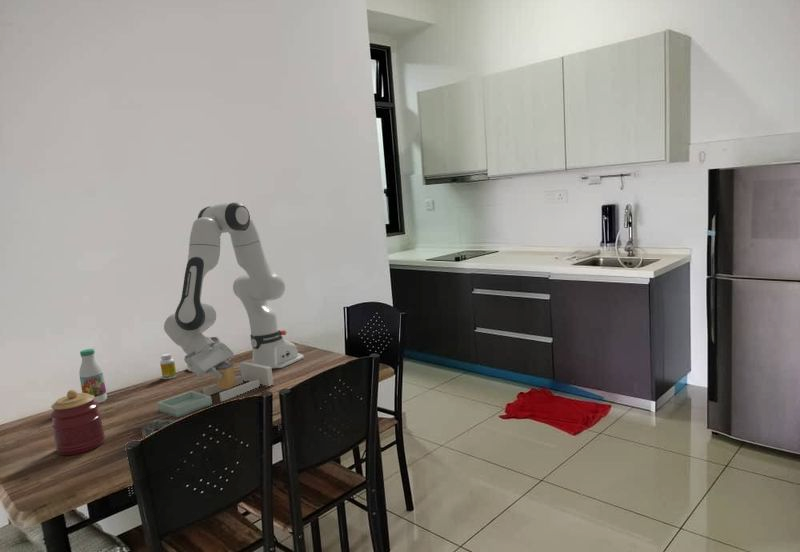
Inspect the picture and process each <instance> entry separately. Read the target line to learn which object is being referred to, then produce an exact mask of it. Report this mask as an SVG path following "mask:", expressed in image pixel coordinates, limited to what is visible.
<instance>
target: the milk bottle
mask: <svg viewBox="0 0 800 552" xmlns="http://www.w3.org/2000/svg"><path fill="white" fill-rule="evenodd" d="M79 354H80V357H81V363H80V364H81V365H80V367H79V372H78V374H79V375H78V376H79V380H80V388H81V393H88V394H90V395H94V396H95V398H94V401H97V402H99V404H101V403H104V402H105V401H107V400H106V399H108V394H107V389H106V382H105V377H104V372H103V369H102V366H101V365H100V363H99V362H98V361H97V359H96V357H95V355H96V354H95V349H94V348H88V349H87V348H86V349H83V350H81V351H80V352H79Z"/></svg>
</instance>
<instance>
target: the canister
mask: <svg viewBox="0 0 800 552" xmlns="http://www.w3.org/2000/svg"><path fill="white" fill-rule="evenodd" d="M94 398H95V396H94V395H90V394H88V393H82V392H77V390H75V389H71V390H68V391H67V393H66V396H62V397H60V398H58V399H57V400H56V401H55V402H54V403H53V404H51V407H50V408H51V409H52V411H51V412H50V413H49V417H50V418H51V419H52V423H51V428H52V431H53V438H54V441H55V445H54V446H55V450H56V452H57V454H58V455H61V456H72V455H73V456H74V455H78V454H82V453H86V452H88V451H91V450H93V449H96V448H98V447H100V446H101V445H103V444H104V442H105V436H106V435H105V431H104V427H103V423H102V417H101V416H102V413H101V412H100V411H99V405H100V403H99V402H97V401H94Z"/></svg>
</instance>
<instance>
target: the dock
mask: <svg viewBox="0 0 800 552" xmlns="http://www.w3.org/2000/svg"><path fill="white" fill-rule="evenodd" d="M239 369H240V375H238V376H235V381H236V385H237V386H236V385H234V387H231V388H230V389H218V383H214V384H212V385H211V384H210V385H208V386H206V387H203V388H202V390H203V394H205V395H208V396H211V395H214V394H217V393H219V400H220V402H224V401H227V400H230V399H232V398H235V397H237V395H238V396H241V395H243V393H244V394H246V393H248V392H247V391H249V392H251V391H250V390H252V389H254V388H257V387H259V386H260V384H264V385H268V386H270V387H272V386H271V385H273V384H275V383H274V378H273V370H272V368H271V367H268V366H263V365H258V364H253V363H252V362H248V361H242V362H239ZM243 380H244V381H243ZM247 381H249V382H247ZM244 382H246V383H244ZM241 383H242V384H241ZM239 384H240V385H239ZM264 385H263V386H264ZM268 386H267V387H268ZM273 386H274V385H273ZM260 387H261V386H260ZM257 389H258V388H257ZM254 390H255V389H254ZM252 391H253V390H252ZM245 392H246V393H245ZM240 394H241V395H240Z"/></svg>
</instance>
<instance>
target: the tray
mask: <svg viewBox="0 0 800 552" xmlns="http://www.w3.org/2000/svg"><path fill="white" fill-rule="evenodd" d="M211 404H212V405H213V400H212V396H211V395H209V396H208V395H205V394H204V393H201V392H198V391H196V390H190V391H187V392H184V393H181V394H179V395H175V396H172V397H170V398H166V399H163V400H160V401H157V410H158V412H161V413H163V414H166V415H169V416H172V417H174V418H180V417H182V416H185V415H189V414H191V413H194V412H196V411H199V410H202V409H204V408H206V407H210V406H212V405H211Z"/></svg>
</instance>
